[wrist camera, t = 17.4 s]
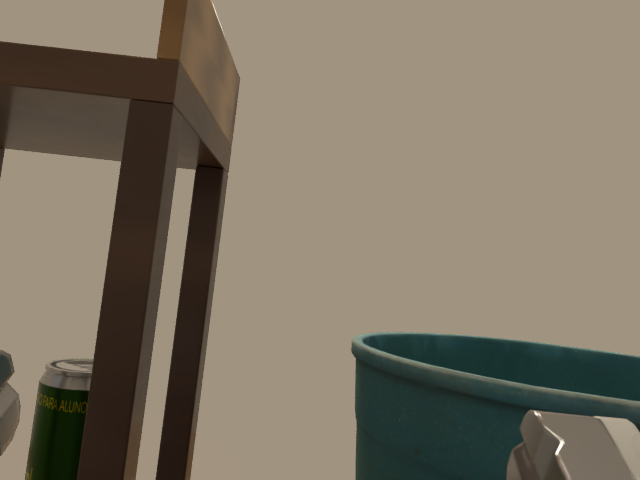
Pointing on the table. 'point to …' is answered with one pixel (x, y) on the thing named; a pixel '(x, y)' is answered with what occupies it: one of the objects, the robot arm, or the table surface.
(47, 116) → the stand
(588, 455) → the robot arm
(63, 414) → the beer can
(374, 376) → the flower pot
